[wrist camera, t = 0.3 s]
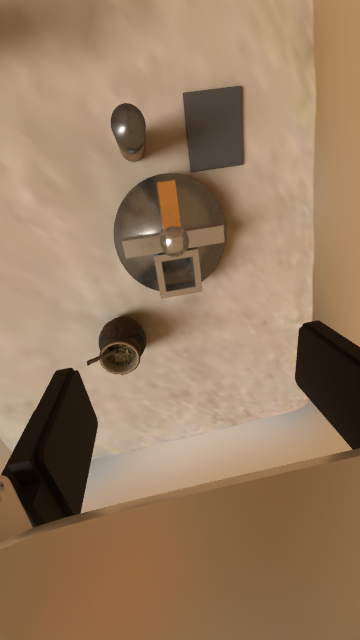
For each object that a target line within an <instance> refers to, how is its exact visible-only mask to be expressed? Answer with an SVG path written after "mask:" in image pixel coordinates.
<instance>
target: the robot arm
mask: <svg viewBox="0 0 360 640" xmlns="http://www.w3.org/2000/svg"><path fill="white" fill-rule="evenodd" d="M295 380H296V383H297V385H298V386H299V387H300V389H301V390H302V391H303V392H304V393H305V394H306V396H307V397H308V398H309V399H310V400H311V401H312V403H313V404H314V405H315V406H316V407H317V408H318V410H319V411H320V412H321V413H322V414H323V415H324V417H325V418H326V419H327V420H328V421H329V422H330V424H331V425H332V426H333V427H334V428H335V429H336V430H337V432H338V433H339V434H340V435H341V436H342V437H343V439H344V440H345V441H346V442H347V443H348V444H349V446H350V447H351V448H352V449H353V450H350V451H346V452H341V453H337V454H332V455H328V456H323V457H319V458H314V459H310V460H306V461H301V462H296V463H292V464H287V465H283V466H279V467H274V468H270V469H266V470H261V471H257V472H253V473H248V474H244V475H240V476H235V477H231V478H227V479H222V480H218V481H214V482H209V483H205V484H201V485H197V486H192V487H188V488H184V489H180V490H175V491H171V492H167V493H163V494H158V495H154V496H150V497H146V498H141V499H137V500H133V501H128V502H124V503H120V504H116V505H113V506H109V507H104V508H100V509H97V510H93V511H89V512H85V513H81V508H82V503H83V498H84V493H85V488H86V483H87V478H88V473H89V468H90V463H91V458H92V453H93V448H94V443H95V438H96V433H97V427H98V421H97V417H96V415H95V412H94V410H93V407H92V404H91V402H90V399H89V397H88V394H87V392H86V389H85V386H84V384H83V381H82V379H81V376H80V374H79V372H78V371H77V370H76V371H74V370H73V368H67V369H62V370H57V371H56V372H55V373H54V375H53V377H52V379H51V381H50V383H49V385H48V387H47V389H46V391H45V393H44V394H43V396H42V398H41V400H40V402H39V404H38V406H37V408H36V410H35V411H34V412H33V414H32V416H31V418H30V420H29V422H28V424H27V426H26V428H25V430H24V432H23V433H22V435H21V437H20V439H19V441H18V443H17V445H16V447H15V449H14V451H13V453H12V455H11V457H10V458H9V460H8V462H7V464H6V466H5V468H4V470H3V472H2V474H1V475H0V640H360V347H359V346H357V345H355V344H354V343H352V342H351V341H349V340H348V339H346V338H345V337H343V336H342V335H340V334H339V333H337V332H336V331H334V330H333V329H331V328H330V327H328V326H326V325H325V324H323V323H322V322H320V321H313V322H307V323H304V324H303V326H302V327H301V328H300V329H299V336H298V348H297V360H296V372H295ZM80 513H81V514H80Z"/></svg>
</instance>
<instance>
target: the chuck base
mask: <svg viewBox="0 0 360 640" xmlns="http://www.w3.org/2000/svg"><path fill="white" fill-rule="evenodd" d="M172 180H175V183H176V191H177V199H178V207H179V215H180V223H181V228H182V229H186V228H192V227H198V226H205V225H211V224H220V225H224V241H225V242H226V224H225V219H224V214H223V212H222V209H221V207H220V205H219V203H218V201H217V200H216V198H215V197H214V195H213V194H212V193H211V192H210V191H209V190H208V189H207V188H206V187H205V186H204V185H202V184H201V183H200V182H198V181H196V180H195V179H192V178H190V177H188V176H184V175H180V174H171V173H170V174H160V175H156V176H153V177H150V178H147V179H146V180H144V181H142V182H140V183H139V184H138V185H136V186H135V187H134V188H133V189H132V190H131V191H130V192H129V193H128V194H127V195H126V197H125V198H124V200H123V201H122V203H121V205H120V207H119V209H118V212H117V215H116V219H115V223H114V242H115V247H116V251H117V254H118V256H119V259H120V261H121V263H122V264H123V266H124V268H125V269H126V270H127V271H128V273H129V274H130V275H131V276H132V277H133V278H134V279H135V280H137V281H138V282H139V283H141V284H143V285H144V286H146V287H149V288H151V289H154V290H157V291H160V290H159V284H158V278H157V273H156V267H155V262H154V256H153V254H150V255H144V256H138V257H132V258H125V253H124V249H123V245H122V240H123V238H129V237H135V236H141V235H148V234H154V233H160V231H161V229H162V228H163V227H162V221H161V214H160V208H159V202H158V195H157V189H156V184H157V183H158V182H165V181H172ZM225 242H223V243H217V244H211V245H205V246H199V247H196V248H197V249H198V252H199V262H200V272H201V282H202V281H203V280H205V279H206V278H207V277H208V276H209V275H210V274H211V273H212V272H213V270H214V269H215V267H216V266H217V265H218V263H219V261H220V259H221V256H222V254H223V251H224V247H225ZM161 263H162V269H163V275H164V281H165V285H168V284H174V283H180V282H185V281H191V280H192V277H191V269H190V260H189V257H187V258H181V259H175V260H169V261H163V262H161Z"/></svg>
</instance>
